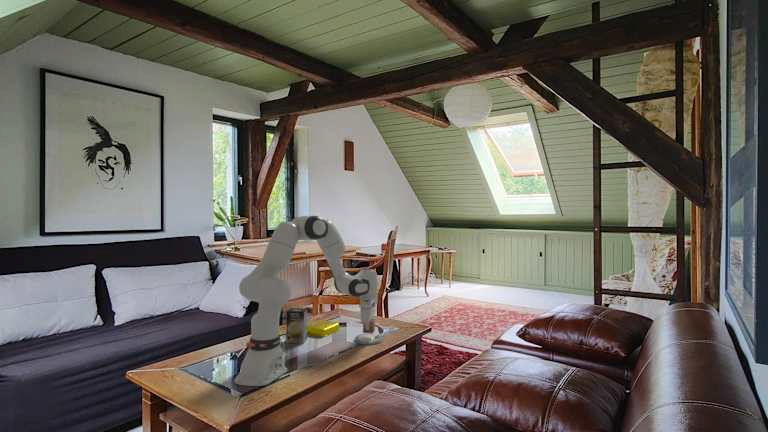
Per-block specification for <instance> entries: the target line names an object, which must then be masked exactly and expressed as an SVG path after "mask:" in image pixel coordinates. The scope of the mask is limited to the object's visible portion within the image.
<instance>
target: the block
mask: <svg viewBox="0 0 768 432" xmlns="http://www.w3.org/2000/svg"><path fill="white" fill-rule="evenodd" d="M375 322H376V320H375V318H373V319H371V321H370V323H369V326H370V329H369V330H366V326H365V324H362V334H374V333H375V329H376V328H375V327H376V326H375V325H376V323H375Z"/></svg>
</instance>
